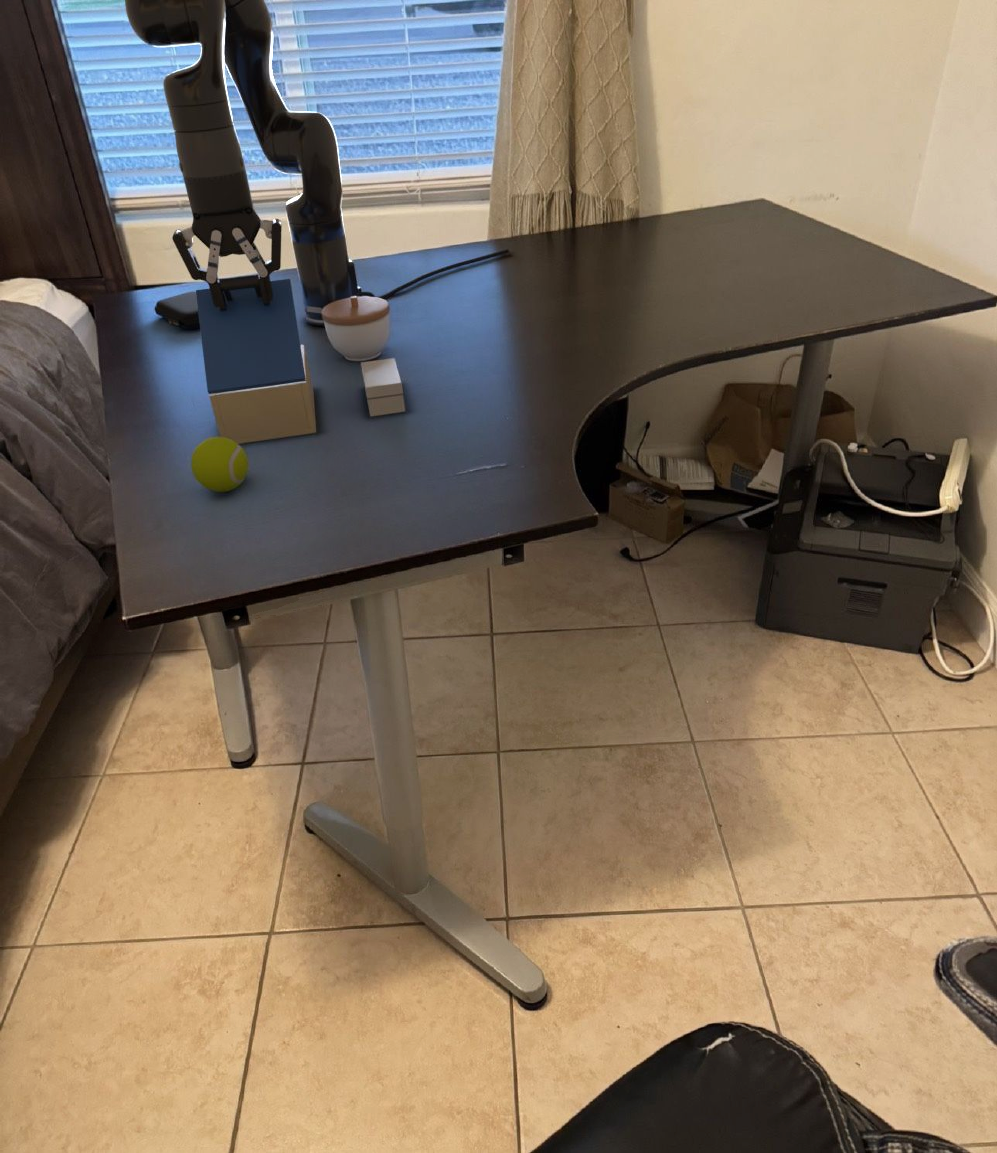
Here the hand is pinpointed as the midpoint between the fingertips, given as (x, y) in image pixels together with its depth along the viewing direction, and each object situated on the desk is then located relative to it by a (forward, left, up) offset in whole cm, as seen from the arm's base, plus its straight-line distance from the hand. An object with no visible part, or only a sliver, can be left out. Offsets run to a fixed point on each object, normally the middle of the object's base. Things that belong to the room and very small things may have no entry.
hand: (245, 306), depth 116 cm
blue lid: (+1, +2, -3) cm, 4 cm away
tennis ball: (+12, +18, -16) cm, 27 cm away
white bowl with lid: (-20, -12, -16) cm, 29 cm away
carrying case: (-2, -50, -16) cm, 53 cm away
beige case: (-15, +7, -16) cm, 23 cm away
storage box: (0, +1, -16) cm, 16 cm away
